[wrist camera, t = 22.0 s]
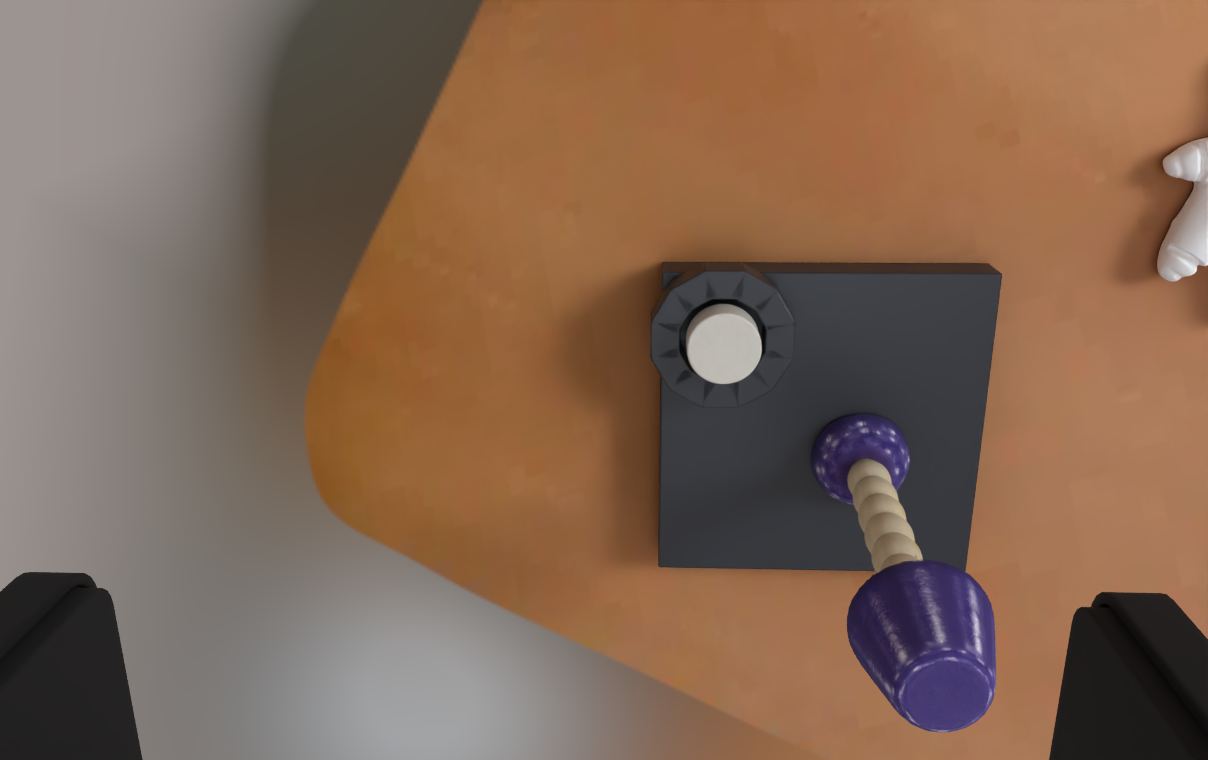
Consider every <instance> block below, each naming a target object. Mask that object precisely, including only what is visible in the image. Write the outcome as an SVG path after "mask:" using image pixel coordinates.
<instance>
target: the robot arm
mask: <svg viewBox="0 0 1208 760" xmlns="http://www.w3.org/2000/svg"><path fill="white" fill-rule="evenodd" d="M0 760H142V755H141V750H140V745H139V739H138V734H137V728H136V724H135V718H134V713H133V707H132V702H131V696H130V691H129V685H128V680H127V675H126V670H125V664H124V659H123V653H122V648H121V643H120V637H119V632H118V627H117V621H116V616H115V610H114V605H113V601H112V598H111V596H110V594H109V593H108V591H107V590H105V589H103V588H97V587H96V584H95V582H94V581H93V579H92V578H91V577H90V576H88V575H87V574H85V573H49V572H46V573H45V572H28V573H23V574H21V575H20V576H18V577H16V578H15V579H14V580H13V581H12V582H11V583H10V584H8V585H7V586H6V587H5V588H4V589H3V590H2V591H1V592H0ZM1049 760H1208V639H1207V638H1206V637H1205V636H1204V635H1203V634H1202V632H1201V631H1200V630H1199V629H1198V628H1197V627H1196V625H1195V624H1194V623H1193V622H1192V621H1191V620H1190V619H1189V617H1188V616H1187V615H1186V614H1185V613H1184V612H1183V611H1182V609H1181V608H1180V607H1179V606H1178V605H1177V604H1176V603H1175V601H1174V600H1173V599H1171V598H1170V597H1169V596H1168V595H1166V594H1161V593H1118V592H1102V593H1100V594H1098V595H1097V596H1096V597H1095V599H1094V601H1093V603H1092V606H1091V607H1080V608H1079V609H1077V611H1076V612H1075V614H1074V617H1073V621H1072V625H1071V631H1070V637H1069V643H1068V649H1067V655H1066V662H1065V668H1064V674H1063V680H1062V686H1061V692H1060V698H1059V704H1058V710H1057V716H1056V722H1055V728H1054V734H1053V740H1052V746H1051V752H1050V758H1049Z"/></svg>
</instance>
